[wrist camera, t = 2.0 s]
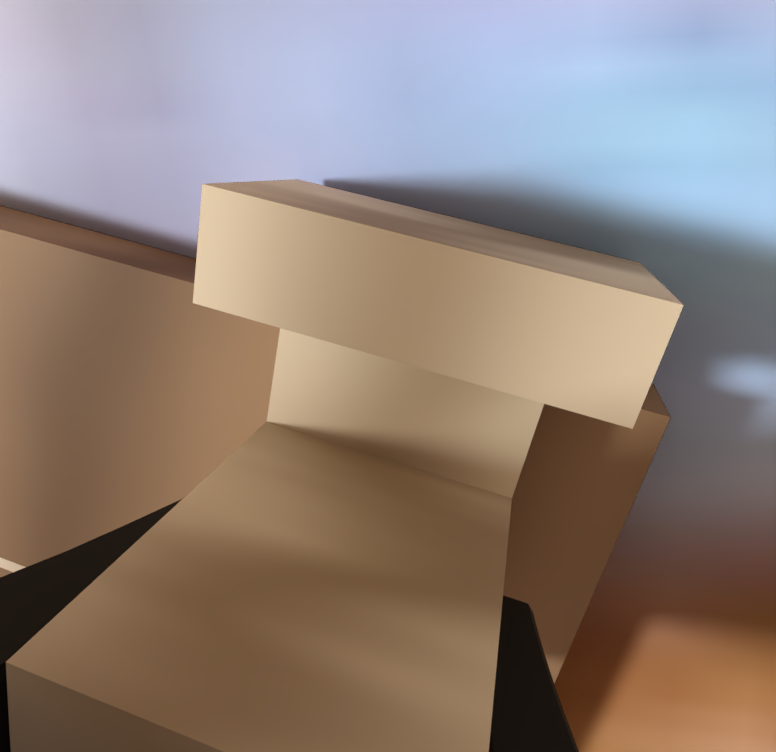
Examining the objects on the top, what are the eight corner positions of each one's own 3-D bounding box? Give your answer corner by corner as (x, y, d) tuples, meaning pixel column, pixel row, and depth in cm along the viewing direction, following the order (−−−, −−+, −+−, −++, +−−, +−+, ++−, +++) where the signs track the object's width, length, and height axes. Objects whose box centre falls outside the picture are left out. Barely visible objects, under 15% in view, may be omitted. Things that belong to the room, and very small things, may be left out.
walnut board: (653, 384, 10) (670, 417, 9) (498, 757, 14) (493, 821, 13) (-238, 140, 13) (-327, 137, 12) (-171, 501, 17) (-234, 530, 16)
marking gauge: (640, 262, 10) (882, 497, 3) (472, 713, 14) (401, 1262, 7) (297, 179, 10) (-154, 201, 4) (234, 624, 14) (-39, 1030, 8)
